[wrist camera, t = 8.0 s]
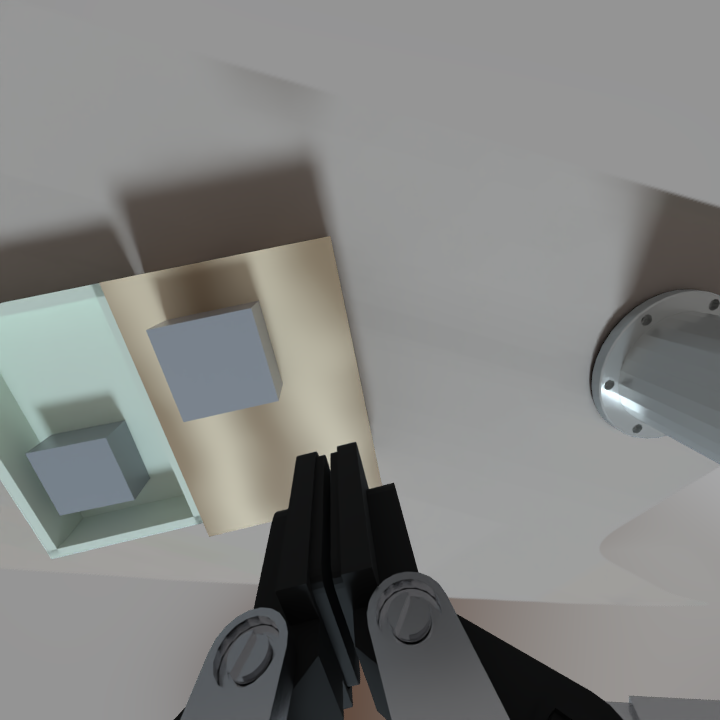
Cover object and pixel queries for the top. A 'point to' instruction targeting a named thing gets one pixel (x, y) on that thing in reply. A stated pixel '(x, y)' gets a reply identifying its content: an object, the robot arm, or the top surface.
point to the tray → (80, 418)
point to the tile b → (217, 360)
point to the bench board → (296, 366)
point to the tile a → (89, 467)
